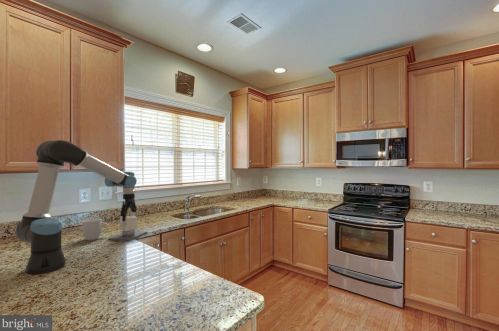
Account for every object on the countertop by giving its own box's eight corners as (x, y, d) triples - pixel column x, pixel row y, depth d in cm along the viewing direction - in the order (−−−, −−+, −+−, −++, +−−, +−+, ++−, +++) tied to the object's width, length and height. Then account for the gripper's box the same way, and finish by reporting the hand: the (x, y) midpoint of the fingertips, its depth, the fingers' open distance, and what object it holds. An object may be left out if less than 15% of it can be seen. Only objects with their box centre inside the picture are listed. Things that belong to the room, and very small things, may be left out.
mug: (106, 234, 177) (106, 216, 177) (109, 238, 169) (109, 219, 169) (81, 238, 168) (81, 219, 168) (83, 242, 159) (83, 222, 159)
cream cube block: (137, 228, 175) (137, 217, 174) (125, 231, 168) (125, 219, 168) (132, 226, 180) (132, 215, 180) (120, 229, 174) (120, 217, 174)
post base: (129, 241, 163) (129, 225, 163) (108, 239, 166) (108, 224, 166) (147, 233, 182) (147, 219, 182) (128, 231, 185) (128, 218, 185)
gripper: (126, 195, 162) (126, 227, 162) (141, 191, 187) (141, 219, 187) (114, 195, 161) (114, 227, 162) (131, 191, 186) (131, 219, 187)
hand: (129, 223), depth 174 cm, fingers open, 13 cm apart
